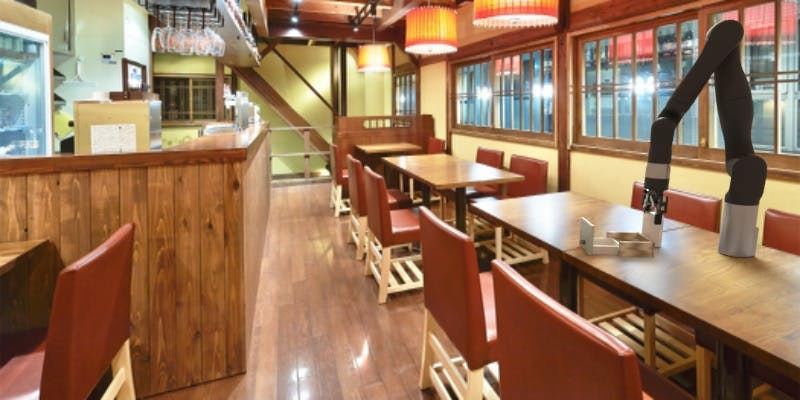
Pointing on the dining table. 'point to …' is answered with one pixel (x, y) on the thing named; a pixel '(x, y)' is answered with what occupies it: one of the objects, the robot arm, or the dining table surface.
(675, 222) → the dining table surface
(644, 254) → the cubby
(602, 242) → the bracket
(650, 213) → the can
